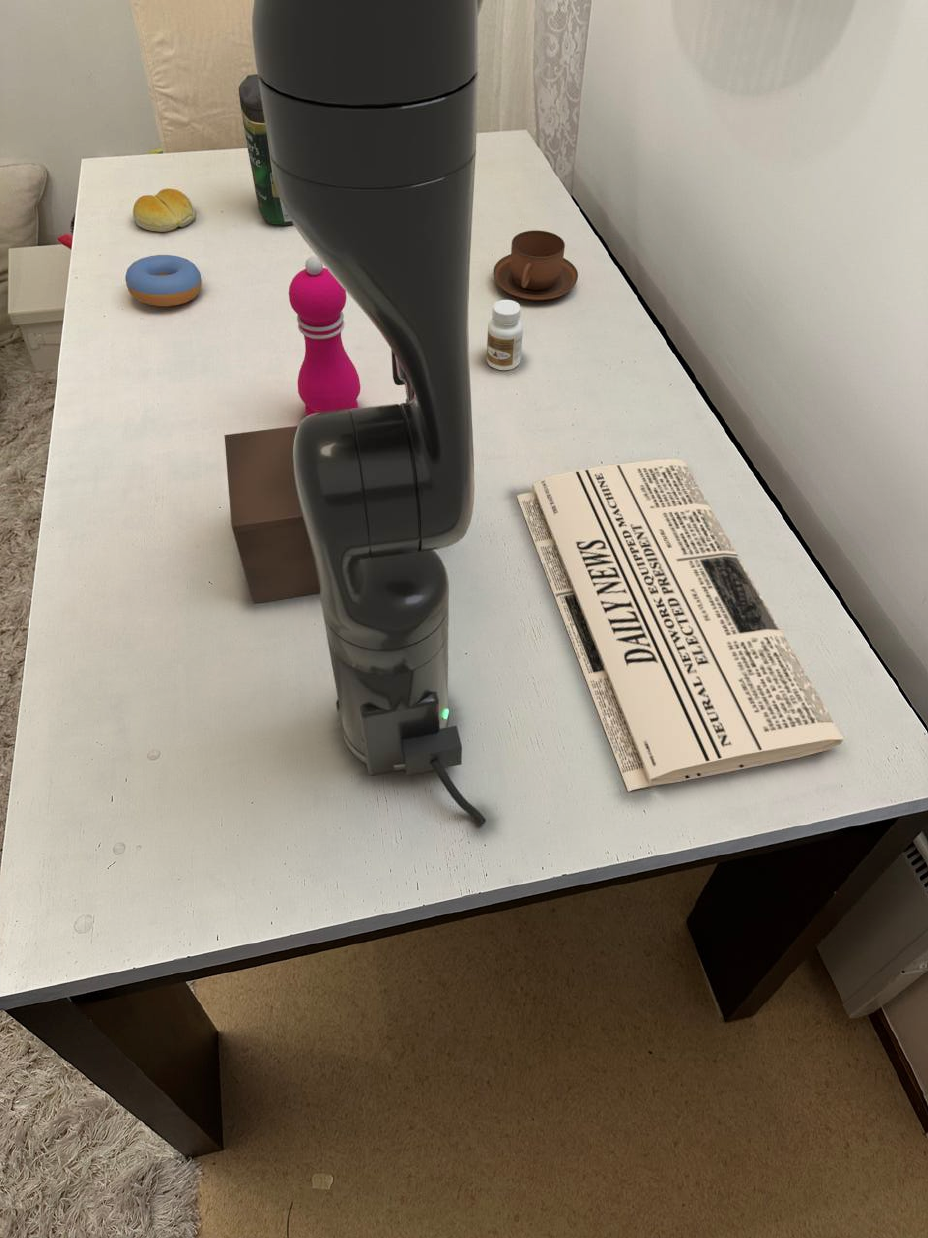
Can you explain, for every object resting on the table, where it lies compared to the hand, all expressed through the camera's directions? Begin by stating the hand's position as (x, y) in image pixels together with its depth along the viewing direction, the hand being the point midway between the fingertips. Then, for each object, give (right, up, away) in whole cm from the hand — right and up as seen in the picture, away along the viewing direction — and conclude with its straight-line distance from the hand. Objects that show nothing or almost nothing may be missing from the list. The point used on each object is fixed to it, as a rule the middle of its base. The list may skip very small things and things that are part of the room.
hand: (413, 409), depth 77 cm
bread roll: (-41, +43, +53) cm, 80 cm away
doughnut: (-37, +26, +40) cm, 60 cm away
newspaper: (+24, -18, +7) cm, 31 cm away
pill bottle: (+10, +14, +32) cm, 36 cm away
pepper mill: (-11, +5, +24) cm, 27 cm away
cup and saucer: (+15, +29, +44) cm, 54 cm away
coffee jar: (-24, +45, +56) cm, 75 cm away
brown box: (-10, -12, +11) cm, 19 cm away
